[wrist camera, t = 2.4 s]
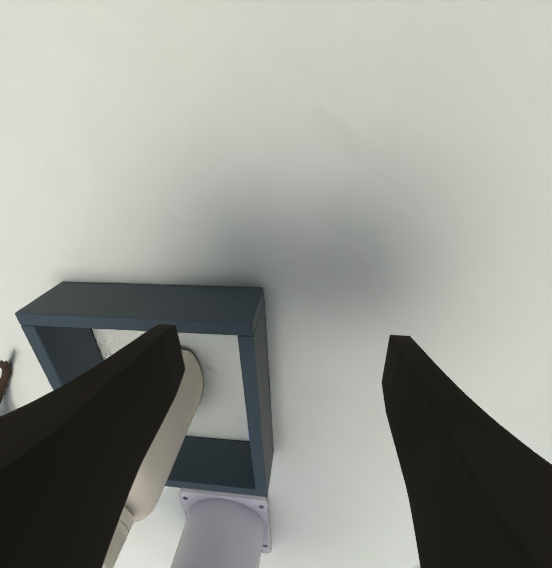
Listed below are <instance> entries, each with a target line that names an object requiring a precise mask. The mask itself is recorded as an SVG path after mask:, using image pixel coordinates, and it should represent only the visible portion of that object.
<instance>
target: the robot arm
mask: <svg viewBox="0 0 552 568" xmlns="http://www.w3.org/2000/svg"><path fill="white" fill-rule="evenodd" d="M184 372H185V365H184V360H183V356H182V351H181V346H180V342H179V337H178V333H177V328H176V325H170V324H158V325H157V326H155V327H153V328H152V329H150V330H149V331H147V332H145V333H144V334H142V335H141V336H140V337H138V338H137V339H135V340H134V341H132V342H131V343H129V344H128V345H126V346H125V347H123V348H122V349H120V350H119V351H117V352H116V353H114V354H113V355H111V356H110V357H108V358H107V359H105V360H104V361H102V362H101V363H99V364H97V365H96V366H94V367H93V368H91V369H89V370H88V371H86V372H85V373H83V374H81V375H80V376H78V377H77V378H75V379H73V380H72V381H70V382H68V383H66V384H65V385H63V386H61V387H59V388H58V389H56V390H54V391H52V392H50V393H48V394H46V395H44V396H43V397H41V398H39V399H37V400H35V401H33V402H31V403H29V404H27V405H25V406H23V407H21V408H18V409H16V410H14V411H12V412H10V413H8V414H6V415H3V416H1V417H0V568H102V566H103V563H104V561H105V558H106V555H107V552H108V549H109V546H110V543H111V540H112V537H113V535H114V532H115V529H116V527H117V524H118V521H119V519H120V516H121V513H122V511H123V508H124V505H125V503H126V500H127V498H128V495H129V493H130V490H131V488H132V485H133V483H134V480H135V478H136V475H137V473H138V471H139V468H140V466H141V464H142V462H143V460H144V458H145V456H146V454H147V452H148V450H149V448H150V446H151V444H152V442H153V440H154V438H155V436H156V434H157V432H158V431H159V429H160V427H161V425H162V423H163V421H164V419H165V417H166V415H167V413H168V411H169V409H170V407H171V405H172V403H173V401H174V399H175V397H176V395H177V392H178V389H179V387H180V384H181V381H182V378H183V375H184ZM382 387H383V395H384V402H385V408H386V414H387V417H388V421H389V425H390V429H391V433H392V436H393V440H394V444H395V447H396V451H397V455H398V458H399V462H400V466H401V469H402V473H403V477H404V480H405V484H406V489H407V493H408V497H409V502H410V507H411V513H412V519H413V524H414V530H415V536H416V542H417V548H418V554H419V560H420V566H421V568H552V464H550V463H549V462H547V461H546V460H545V459H543V458H542V457H540V456H539V455H538V454H536V453H535V452H534V451H533V450H531V449H530V448H529V447H527V446H526V445H525V444H523V443H522V442H521V441H520V440H518V439H517V438H516V437H515V436H513V435H512V434H511V433H510V432H508V431H507V430H506V429H505V428H503V427H502V426H501V425H500V424H498V423H497V422H496V421H495V420H494V419H493V418H491V417H490V416H489V415H488V414H487V413H486V412H485V411H483V410H482V409H481V408H480V407H479V406H478V405H477V404H476V403H475V402H474V401H472V400H471V399H470V398H469V397H468V396H467V395H466V394H465V393H464V392H463V391H462V390H461V389H460V388H459V387H458V386H457V385H456V384H455V383H454V382H453V381H452V380H451V379H450V378H449V377H448V376H447V375H446V374H445V373H444V372H443V371H442V370H441V369H440V368H439V367H438V366H437V365H436V364H435V363H434V362H433V361H432V359H431V358H430V357H429V356H428V355H427V354H426V353H425V352H424V351H423V350H422V349H421V348H420V346H419V345H418V344H417V343H416V342H415V341H414V340H413V339H412V338H411V337H410V336H399V335H390V338H389V343H388V349H387V355H386V361H385V366H384V372H383V378H382ZM179 495H180V498H181V501H182V505H183V508H184V511H185V514H186V517H187V519H186V522H185V525H184V528H183V531H182V535H181V538H180V541H179V544H178V547H177V550H176V553H175V556H174V559H173V562H172V565H171V568H259V563H260V556H261V552H262V553H270V552H271V537H270V525H269V514H268V502H267V499H266V498H265V497H261V496H252V495H243V494H234V493H225V492H215V491H206V490H197V489H188V488H181V489H180V492H179Z"/></svg>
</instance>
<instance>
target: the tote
mask: <svg viewBox="0 0 552 568" xmlns="http://www.w3.org/2000/svg"><path fill="white" fill-rule="evenodd" d="M15 315H16V317H17V319H18V321H19V323H20V324H21V327H22V329H23V331H24V333H25V335H26V337H27V339H28V341H29V343H30V345H31V347H32V349H33V351H34V353H35V355H36V357H37V359H38V361H39V363H40V365H41V367H42V368H43V370H44V372H45V374H46V376H47V378H48V380H49V382H50V384H51V386H52V388H53V390H56V389H58V388H59V387H61V386H63V385H65V384H66V383H68V382H70V381H72V380H73V379H75V378H77V377H78V376H80V375H81V374H83V373H85V372H86V371H88V370H89V369H91V368H93V367H94V366H96V365H97V364H99V363H101V362H102V361H103V360H102V357H101V355H100V352H99V349H98V347H97V344H96V341H95V339H94V336H93V334H92V331H91V328H95V329H116V330H137V331H149V330H150V329H152V328H153V327H155V326H157V325H158V324H170V325H176V328H177V332H179V333H200V334H222V335H238V342H239V351H240V360H241V369H242V377H243V386H244V395H245V403H246V412H247V421H248V430H249V438H250V442H244V441H233V440H222V439H210V438H199V437H188V436H185V438H184V440H183V443H182V445H181V448H180V450H179V452H178V455H177V457H176V460H175V462H174V464H173V467H172V469H171V472H170V474H169V476H168V479H167V481H166V484H165V486H170V487H179V488H188V489H197V490H206V491H215V492H225V493H234V494H243V495H252V496H261V497H267V496H268V489H269V481H270V474H271V467H272V459H273V452H274V448H273V431H272V414H271V398H270V382H269V365H268V349H267V332H266V316H265V300H264V289H263V288H252V287H216V286H181V285H146V284H110V283H75V282H61V283H60V284H58V285H57V286H55V287H54V288H52V289H51V290H49V291H47V292H46V293H44V294H43V295H41V296H40V297H38V298H37V299H35V300H34V301H32V302H31V303H29V304H28V305H26V306H25V307H23V308H22V309H20V310H19V311H17V312H16V313H15Z"/></svg>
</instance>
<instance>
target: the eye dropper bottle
mask: <svg viewBox="0 0 552 568" xmlns="http://www.w3.org/2000/svg"><path fill="white" fill-rule="evenodd" d="M181 351H182V356H183V360H184V365H185V372H184V375H183V378H182V381H181V384H180V387H179V389H178V392H177V395H176V397H175V399H174V401H173V403H172V405H171V407H170V409H169V411H168V413H167V415H166V417H165V419H164V421H163V423H162V425H161V427H160V429H159V431H158V432H157V434H156V436H155V438H154V440H153V442H152V444H151V446H150V448H149V450H148V452H147V454H146V456H145V458H144V460H143V462H142V464H141V466H140V468H139V471H138V473H137V475H136V478H135V480H134V483H133V485H132V488H131V490H130V493H129V495H128V498H127V500H126V503H125V505H124V508H123V511H122V513H121V516H120V519H119V521H118V524H117V527H116V529H115V532H114V535H113V537H112V540H111V543H110V546H109V549H108V552H107V555H106V558H105V561H104V563H103V566H102V568H113V566H114V564H115V562H116V560H117V558H118V555H119V553H120V551H121V549H122V546H123V544H124V542H125V540H126V538H127V535H128V533H129V531H130V529H131V527H132V524H133V522H134V521H139V520H142V519H144V518H145V517H147V516H148V515H149V514H150V513H151V512H152V510H153V509H154V507H155V506H156V504H157V502H158V500H159V498H160V495H161V493H162V491H163V488H164V486H165V484H166V481H167V479H168V476H169V474H170V472H171V469H172V467H173V464H174V462H175V460H176V457H177V455H178V452H179V450H180V448H181V445H182V443H183V440H184V438H185V435H186V433H187V431H188V428H189V426H190V423H191V421H192V419H193V416H194V414H195V411H196V409H197V406H198V404H199V402H200V399H201V395H202V391H203V377H202V372H201V369H200V366H199V364H198V362H197V360H196V358H195V356H194V355H193V354H192V353H191V352H190V351H187V350H182V349H181Z"/></svg>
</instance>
